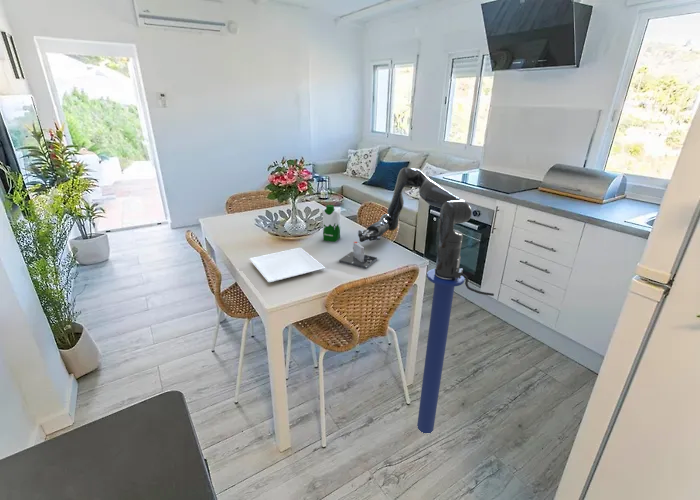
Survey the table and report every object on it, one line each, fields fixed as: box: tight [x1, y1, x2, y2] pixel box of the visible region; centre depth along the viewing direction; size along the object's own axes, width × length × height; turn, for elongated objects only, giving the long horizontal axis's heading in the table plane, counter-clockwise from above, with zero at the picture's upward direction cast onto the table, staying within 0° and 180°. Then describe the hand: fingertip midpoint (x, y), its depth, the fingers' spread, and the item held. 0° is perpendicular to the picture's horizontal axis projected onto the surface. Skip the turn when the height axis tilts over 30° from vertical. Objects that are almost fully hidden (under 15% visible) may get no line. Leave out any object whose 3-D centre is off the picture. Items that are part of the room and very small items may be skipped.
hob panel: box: [338, 251, 378, 270], centre depth 164 cm, size 14×12×2 cm
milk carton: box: [321, 204, 342, 243], centre depth 187 cm, size 9×9×20 cm
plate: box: [248, 247, 326, 283], centre depth 157 cm, size 26×26×2 cm
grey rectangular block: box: [352, 241, 365, 262], centre depth 163 cm, size 8×2×7 cm, turn 26°
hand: (361, 240), depth 170 cm, fingers closed
